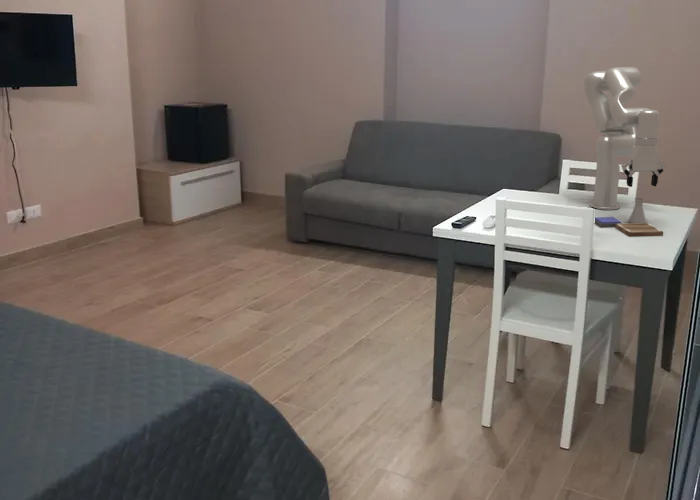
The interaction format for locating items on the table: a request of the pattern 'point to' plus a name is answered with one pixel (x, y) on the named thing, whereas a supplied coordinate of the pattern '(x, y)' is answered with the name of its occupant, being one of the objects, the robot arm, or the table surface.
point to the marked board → (638, 229)
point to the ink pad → (606, 222)
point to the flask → (638, 212)
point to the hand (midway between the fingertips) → (641, 186)
